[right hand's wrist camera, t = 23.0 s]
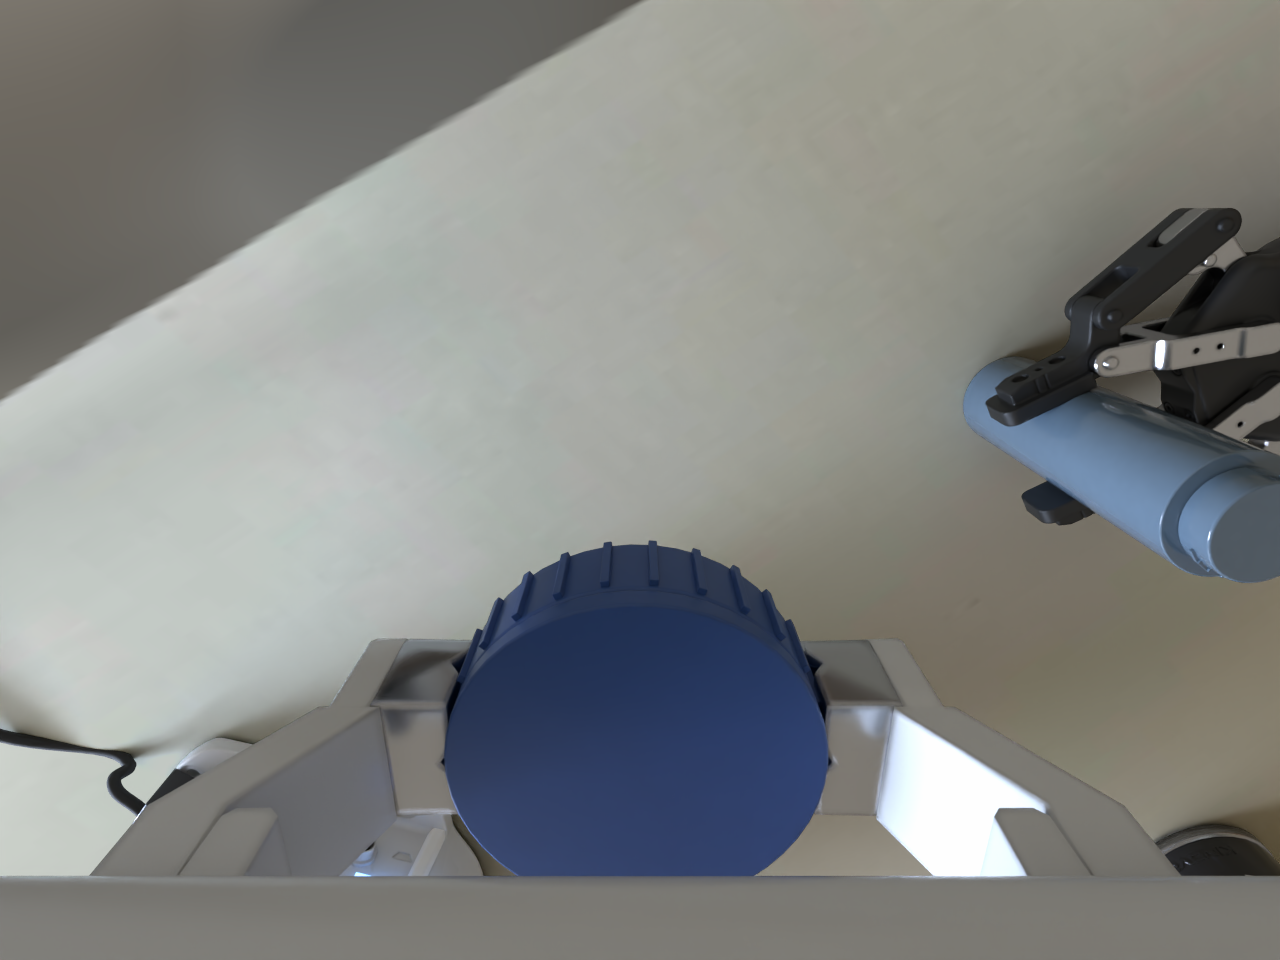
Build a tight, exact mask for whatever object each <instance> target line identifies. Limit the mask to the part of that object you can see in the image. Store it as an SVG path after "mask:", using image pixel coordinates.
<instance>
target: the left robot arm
mask: <svg viewBox="0 0 1280 960" xmlns="http://www.w3.org/2000/svg"><path fill="white" fill-rule="evenodd" d="M1241 223H1242V218H1241V215H1240V213H1239V212H1238V211H1237V210H1236V209H1233V208H1181V209H1178V210H1176V211H1174V212H1172V213H1171V214H1170V215H1169V216H1168V217H1166V218H1165V219H1164V220H1163V221H1162V222H1161V223H1159V224H1158V225H1157V226H1156V227H1155V228H1153V229H1152V230H1151V231H1150V232H1149V233H1147V234H1146V235H1145V236H1144V237H1143V238H1142V239H1140V240H1139V241H1138V242H1137V243H1136V244H1134V245H1133V246H1132V247H1131V248H1130V249H1128V250H1127V251H1126V252H1125V253H1124V254H1123V255H1121V256H1120V257H1119V258H1118V259H1117V260H1115V261H1114V262H1113V263H1112V264H1111V265H1109V266H1108V267H1107V268H1106V269H1105V270H1104V271H1102V272H1101V273H1100V274H1099V275H1098V276H1096V277H1095V278H1094V279H1093V280H1092V281H1090V282H1089V283H1088V284H1087V285H1086V286H1084V287H1083V288H1082V289H1081V290H1080V291H1079V292H1077V293H1076V294H1075V295H1074V296H1073V297H1071V298H1070V299H1069V301H1068V302H1067V304H1066V306H1065V315H1066V317H1067V318H1068V320H1070V321H1071V328H1070V337H1069V340H1068V342H1067V344H1066V345H1065V347H1064V348H1063V349H1062V350H1060V351H1059V352H1057V353H1055V354H1053V355H1051V356H1049V357H1047V358H1045V359H1043V360H1041V361H1039V362H1037V363H1035V364H1033V365H1031V366H1029V367H1028V368H1025V369H1023V370H1021V371H1019V372H1018V373H1015V374H1013V375H1011V376H1009V377H1007V378H1005V379H1004V380H1003V381H1002V382H1001V383H1000V384H999V385H998V386H997V387H996V388H995V390H996V392H997V395H995V396H993V397H991V398H989V399H988V400H987V401H986V403H985V404H986V406H987V409H988V411H989V414H990V416H991V418H993V419H994V420H996V421H998V422H999V423H1001V424H1003V425H1004V426H1007V427H1012V426H1017V425H1020V424H1022V423H1024V422H1026V421H1029V420H1031V419H1033V418H1035V417H1037V416H1039V415H1041V414H1043V413H1045V412H1047V411H1049V410H1051V409H1053V408H1055V407H1058V406H1060V405H1062V404H1064V403H1066V402H1068V401H1070V400H1072V399H1073V398H1075V397H1078V396H1080V395H1082V394H1084V393H1087V392H1089V391H1091V390H1093V389H1095V388H1097V384H1096V381H1095V379H1096V378H1098V377H1100V376H1102V377H1106V378H1108V377H1114V376H1120V375H1125V374H1131V373H1136V372H1141V371H1147V370H1153V371H1154V372H1155V374H1156V375H1157V377H1158V378H1159V379H1160V381H1161V401H1162V404H1161V405H1160V406H1159V407H1158V409H1160V410H1163V411H1166V412H1168V413H1171V414H1173V415H1176V416H1179V417H1181V418H1184V419H1186V420H1189V421H1192V422H1194V423H1197V424H1199V425H1202V426H1205V427H1207V428H1210V429H1212V430H1215V431H1218V432H1220V433H1223V434H1225V435H1228V436H1231V437H1233V438H1236V439H1238V440H1241V439H1242V438H1246V439H1249V441H1248V443H1249V444H1251V445H1254V446H1257V447H1259V448H1262V449H1264V450H1267V451H1269V452H1272V453H1275V454H1277V455H1279V456H1280V238H1278V239H1276V240H1274V241H1272V242H1270V243H1268V244H1266V245H1264V246H1263V247H1261V248H1260V249H1259V250H1258V251H1255V252H1247V253H1245V252H1244V251H1243V249H1242V248H1241V246H1240V245H1239V243H1238V242H1237V240H1236V239H1235V237H1234V236H1235V235H1236V233H1237V232H1238V231H1239V229H1240V227H1241ZM1202 272H1203V273H1202ZM1199 273H1202V274H1201V276H1200V277H1199V278H1198V280H1197V281H1196V283H1195V284H1194V285H1193V287H1192V288H1191V289H1190V291H1189V292H1188V294H1187V295H1186V296H1185V298H1184V299H1183V301H1182V302H1181V303H1180V305H1179V306H1178V307H1177V309H1176V310H1175V312H1174V313H1173V314H1172V316H1171V317H1168V318H1162V319H1157V320H1152V321H1147V322H1142V323H1136V324H1131V325H1126V326H1124V325H1125V324H1127V323H1128V322H1129V321H1130V320H1131V319H1133V318H1134V317H1135V316H1136V315H1138V314H1139V313H1140V312H1141V311H1143V310H1144V309H1145V308H1146V307H1147V306H1149V305H1150V304H1151V303H1152V302H1154V301H1155V300H1156V299H1157V298H1159V297H1160V296H1161V295H1162V294H1163V293H1165V292H1166V291H1167V290H1168V289H1170V288H1171V287H1172V286H1173V285H1175V284H1176V283H1177V282H1178V281H1179V280H1181V279H1182V278H1183V277H1184V276H1186V275H1187V274H1188V275H1196V274H1199ZM1022 499H1023V502H1024V504H1025V507H1026V509H1027V511H1028V512H1030V513H1031V514H1032V515H1033V516H1035V517H1036V518H1037V519H1039V520H1040V521H1041V522H1043V523H1056V524H1058V525H1068V524H1072V523H1075V522H1077V521H1079V520H1081V519H1083V518H1086V517H1088V516H1090V515H1092V514H1095V512H1093V511H1092V510H1090V509H1089V508H1087V507H1086V506H1084V505H1083V504H1081V503H1080V502H1078V501H1077V500H1075V499H1074V498H1072V497H1071V496H1069V495H1068V494H1066V493H1065V492H1063V491H1062V490H1060V489H1059V488H1057V487H1056V486H1054V485H1053V484H1051V483H1050V482H1048V481H1047V482H1044V483H1042V484H1040V485H1038V486H1036V487H1034V488H1032V489H1030V490H1027V491H1026V492H1024V493H1023V494H1022ZM1156 845H1157V847H1158V848H1159V849H1160V850H1161V851H1162V853H1163V854H1164V855H1165V856H1166V858H1167V859H1168V860H1169V861H1170V863H1171V864H1172V865H1173V866H1174V867H1175V869H1176V870H1177V871H1178V872H1179V874H1180V875H1181V876H1280V864H1279V863H1278V862H1277V861H1276V860H1275V859H1274V857H1273V856H1272V854H1271V853H1270V852H1269V850H1268V849H1267V848H1266V847H1265V846H1264V845H1263V844H1262V843H1261V842H1260V841H1259V840H1258V839H1257V838H1256V837H1254V836H1253V835H1252V834H1250V833H1248V832H1246V831H1244V830H1242V829H1239V828H1235V827H1231V826H1223V825H1207V826H1199V827H1194V828H1190V829H1186V830H1183V831H1180V832H1177V833H1175V834H1172V835H1170V836H1168V837H1166V838H1164V839H1162V840H1160V841H1159V842H1157V843H1156Z"/></svg>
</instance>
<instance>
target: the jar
mask: <svg viewBox="0 0 1280 960" xmlns="http://www.w3.org/2000/svg"><path fill="white" fill-rule="evenodd" d="M1035 363H1037V362H1036V361H1033V360H1030V359H1028V358H1024V357H1006V358H1002V359H999V360H996V361H994V362H992V363H990V364H989V365H987V366H986V367H984V368H983V369H982V370H980V371H979V372H978V373H977V374H976V376H975V377H974V378H973V379H972V381H971V382H970V384H969V386H968V388H967V390H966V393H965V397H964V403H963V411H964V416H965V419H966V421H967V423H968V425H969V426H970V428H971V429H972V430H973V431H974V432H975V433H976V434H978V435H979V436H981V437H982V438H984V439H985V440H987V441H988V442H990V443H991V444H993V445H994V446H996V447H997V448H999V449H1000V450H1002V451H1003V452H1005V453H1006V454H1008V455H1009V456H1011V457H1012V458H1014V459H1015V460H1017V461H1018V462H1020V463H1021V464H1023V465H1024V466H1026V467H1027V468H1029V469H1030V470H1032V471H1033V472H1035V473H1036V474H1038V475H1039V476H1041V477H1042V478H1044V479H1045V480H1047V481H1048V482H1050V483H1051V484H1053V485H1054V486H1056V487H1057V488H1059V489H1060V490H1062V491H1063V492H1065V493H1066V494H1068V495H1069V496H1071V497H1072V498H1074V499H1075V500H1077V501H1078V502H1080V503H1081V504H1083V505H1084V506H1086V507H1087V508H1089V509H1090V510H1092V511H1093V512H1095V513H1096V514H1098V515H1099V516H1101V517H1102V518H1104V519H1105V520H1107V521H1108V522H1110V523H1111V524H1113V525H1114V526H1116V527H1117V528H1119V529H1120V530H1122V531H1123V532H1125V533H1126V534H1128V535H1129V536H1131V537H1132V538H1134V539H1135V540H1137V541H1138V542H1140V543H1141V544H1143V545H1144V546H1146V547H1147V548H1149V549H1150V550H1152V551H1153V552H1155V553H1156V554H1158V555H1159V556H1161V557H1162V558H1164V559H1165V560H1167V561H1168V562H1170V563H1171V564H1173V565H1174V566H1176V567H1177V568H1179V569H1181V570H1183V571H1185V572H1187V573H1190V574H1193V575H1198V576H1207V577H1215V576H1220V577H1222V578H1226V579H1229V580H1232V581H1236V582H1242V583H1256V582H1262V581H1267V580H1270V579H1273V578H1276V577H1278V576H1280V456H1279V455H1277V454H1275V453H1272V452H1269V451H1267V450H1264V449H1262V448H1259V447H1257V446H1254V445H1251V444H1249V443H1246V442H1244V441H1241V440H1238V439H1236V438H1233V437H1231V436H1228V435H1225V434H1223V433H1220V432H1218V431H1215V430H1212V429H1210V428H1207V427H1205V426H1202V425H1199V424H1197V423H1194V422H1192V421H1189V420H1186V419H1184V418H1181V417H1179V416H1176V415H1173V414H1171V413H1168V412H1166V411H1163V410H1160V409H1158V408H1155V407H1153V406H1150V405H1147V404H1145V403H1142V402H1140V401H1137V400H1134V399H1132V398H1129V397H1127V396H1124V395H1121V394H1119V393H1116V392H1114V391H1111V390H1108V389H1106V388H1103V387H1101V386H1098V385H1097V388H1095V389H1093V390H1091V391H1089V392H1087V393H1084V394H1082V395H1080V396H1078V397H1075V398H1073V399H1072V400H1070V401H1068V402H1066V403H1064V404H1062V405H1060V406H1058V407H1055V408H1053V409H1051V410H1049V411H1047V412H1045V413H1043V414H1041V415H1039V416H1037V417H1035V418H1033V419H1031V420H1029V421H1026V422H1024V423H1022V424H1020V425H1017V426H1012V427H1007V426H1004V425H1003V424H1001V423H999V422H998V421H996V420H994V419H993V418H991V416H990V414H989V411H988V409H987V406H986V404H985V403H986V401H987V400H988V399H989V398H991V397H993V396H995V395H997V392H996V390H995V388H996V387H997V386H998V385H999V384H1000V383H1001V382H1002V381H1003V380H1004V379H1005V378H1007V377H1009V376H1011V375H1013V374H1015V373H1018V372H1019V371H1021V370H1023V369H1025V368H1028V367H1029V366H1031V365H1033V364H1035Z"/></svg>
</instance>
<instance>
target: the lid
mask: <svg viewBox="0 0 1280 960" xmlns="http://www.w3.org/2000/svg"><path fill="white" fill-rule="evenodd" d="M457 681H458V682H460V691H459V693H458V697H457V699H456V702H455V704H454V707H453V710H452V712H451V715H450V719H449V723H448V727H447V731H446V735H445V747H444V763H445V774H446V779H447V783H448V787H449V791H450V795H451V797H452V800H453V802H454V805H455V807H456V809H457V812H458V814H459V816H460V817H461V819H462V820H463V822H464V824H465V825H466V827H467V829H468V830H469V832H470V833H471V834H472V835H473V837H474V838H475V839H476V840H477V841H478V843H479V844H480V845H481V846H482V847H483V848H484V849H485V850H486V851H487V852H488V853H489V854H490V855H491V856H492V857H493V858H494V859H495V860H497V861H498V862H499V863H500V864H502V865H503V866H504V867H506V868H507V869H509V870H510V871H511V872H513V873H514V874H516V875H517V876H754V875H756V874H757V873H759V872H760V871H762V870H764V869H765V868H767V867H768V866H769V865H770V864H772V863H773V862H774V861H775V860H776V859H778V858H779V857H780V856H781V855H782V854H784V852H785V851H786V850H787V849H788V848H789V847H790V846H791V845H792V844H793V843H794V842H795V841H796V840H797V838H798V837H799V836H800V834H801V833H802V831H803V830H804V829H805V827H806V826H807V824H808V823H809V821H810V820H811V818H812V816H813V814H814V812H815V810H816V808H817V806H818V804H819V801H820V798H821V795H822V792H823V789H824V786H825V781H826V775H827V769H828V740H827V734H826V728H825V723H824V720H823V717H822V714H821V711H820V709H819V704H820V701H819V698H818V696H817V693H816V690H815V688H814V676H813V673H812V671H811V668H810V666H809V664H808V661H807V658H806V656H805V653H804V651H803V648H802V645H801V643H800V640H799V637H798V635H797V632H796V629H795V627H794V624H793V622H792V621H791V619H789V620H787V621H785V620H784V618H783V617H782V615H781V614H780V613H779V611H778V610H777V609H776V607H775V604H774V601H773V598H772V595H771V593H770V592H769V591H768V590H767V589H766V590H764V591H763V592H761V591H760V590H759V589H758V588H757V587H756V586H754V585H753V584H752V583H750V582H749V581H748V580H746V579H745V578H744V577H742V576H741V573H740V569H739V568H738V567H736V566H735V565H733V566H732V567H731V568H730V569H729V568H727V567H726V566H724V565H722V564H720V563H718V562H715V561H713V560H711V559H708V558H706V557H703V556H701V552H700V550H698V549H695V548H693V549H692V552H687V551H684V550H680V549H676V548H669V547H662V546H657V541H649V543H648V545H620V546H612V542H605V543H604V546H603V548H599V549H594V550H589V551H585V552H582V553H579V554H576V555H573V556H570V555H569V553H568V552H567V553H564V554H561V558H560V561H558V562H556V563H554V564H552V565H550V566H547V567H545V568H543V569H542V570H540V571H539V572H537V573H536V574H534V575H533V574H532V573H531V572H530V571H529V572H527V573H526V574H524V576H523V580H522V583H521V584H520V585H519V586H518V587H517V588H516V589H514V590H513V591H512V592H511V593H510V594H509V595H508V596H507V597H506V598H505V599H504V600H502V599H501V598H498V599H497V600H496V601H495V602H494V605H493V608H492V610H491V613H490V616H489V619H488V621H487V624H486V625H485V627H484V629H483V630H480V629H477V630H476V632H475V634H474V637H473V639H472V642H471V645H470V647H469V650H468V652H467V655H466V658H465V660H464V663H463V665H462V668H461V671H460V673H459V676H458V678H457Z"/></svg>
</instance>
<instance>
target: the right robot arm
mask: <svg viewBox="0 0 1280 960" xmlns="http://www.w3.org/2000/svg"><path fill="white" fill-rule="evenodd" d="M471 642H472V640H441V639H409V640H408V639H375V640H373V641H371V642H370V643H369V644H368V646H367V647H366V649H365V651H364V652H363V654H362V655H361V657H360V659H359V660H358V662H357V663H356V665H355V666H354V668H353V670H352V671H351V673H350V674H349V676H348V677H347V679H346V681H345V682H344V684H343V685H342V687H341V688H340V690H339V692H338V693H337V695H336V696H335V698H334V699H333V701H332V703H331V704H330V706H329V707H317V708H316V709H314V710H312V711H311V712H309V713H307V714H305V715H304V716H302V717H300V718H298V719H297V720H295V721H293V722H291V723H290V724H288V725H286V726H284V727H283V728H281V729H279V730H277V731H276V732H274V733H272V734H271V735H269V736H267V737H265V738H264V739H262V740H260V741H258V742H257V743H255V744H249V743H245V742H240V741H236V740H232V739H226V738H214V739H212V740H210V741H207V742H205V743H203V744H202V745H200V746H198V747H197V748H195V749H194V750H193V751H191V752H190V753H189V754H188V755H187V756H186V757H185V758H184V759H183V760H181V762H180V763H179V764H178V765H177V767H176V768H175V769H174V770H173V772H172V773H171V774H170V775H169V777H168V778H167V779H166V780H165V781H164V783H163V784H162V785H161V786H160V787H159V789H158V790H157V791H156V792H155V793H154V795H153V796H152V797H151V798H150V799H149V801H148V802H147V803H146V804H145V803H143V802H142V801H141V800H140V799H138V798H137V797H135V796H134V795H132V794H131V793H129V792H128V791H127V790H126V789H125V788H124V787H123V785H122V783H121V779H123V778H124V777H126V776H128V775H130V774H131V773H132V772H133V771H134V770H135V767H136V762H135V760H134V759H133V758H132V756H131V755H130V754H128V753H125V752H121V751H114V750H99V749H92V748H86V747H81V746H76V745H72V744H68V743H64V742H59V741H54V740H50V739H46V738H41V737H35V736H30V735H25V734H20V733H15V732H11V731H6V730H3V729H0V742H1V743H6V744H10V745H15V746H21V747H28V748H35V749H45V750H55V751H66V752H77V753H86V754H94V755H99V756H104V757H108V758H111V759H114V760H115V761H117V762H118V763H120V764H121V766H122V767H120V768H118V769H116V770H115V771H113V772H112V773H111V774H110V775H109V777H108V780H107V789H108V792H109V793H110V795H111V796H112V797H113V798H114V799H115V800H116V801H117V802H118V803H120V804H121V805H122V806H124V807H125V808H127V809H128V810H130V811H131V812H132V813H133V814H135V815H136V816H137V817H136V819H135V820H134V822H133V823H132V825H131V826H130V827H129V829H128V830H127V831H126V832H125V833H124V835H123V836H122V837H121V838H120V839H119V841H118V842H117V843H116V844H115V845H114V847H113V848H112V849H111V850H110V851H109V853H108V854H107V855H106V856H105V857H104V859H103V860H102V861H101V862H100V863H99V865H98V866H97V867H96V868H95V869H94V871H93V872H92V873H91V874H90V875H89V876H0V960H1280V876H1181V875H1180V874H1179V872H1178V871H1177V870H1176V869H1175V867H1174V866H1173V865H1172V864H1171V863H1170V861H1169V860H1168V859H1167V858H1166V856H1165V855H1164V854H1163V853H1162V851H1161V850H1160V849H1159V848H1158V847H1157V845H1156V844H1155V843H1154V842H1153V840H1152V839H1151V838H1150V837H1149V836H1148V834H1147V833H1146V832H1145V831H1144V829H1143V828H1142V827H1141V826H1140V824H1139V823H1138V822H1137V821H1136V820H1135V818H1134V817H1133V816H1132V815H1131V813H1130V812H1129V811H1128V810H1127V808H1126V807H1125V806H1124V805H1122V804H1120V803H1119V802H1117V801H1115V800H1113V799H1112V798H1110V797H1108V796H1107V795H1105V794H1103V793H1101V792H1100V791H1098V790H1096V789H1095V788H1093V787H1091V786H1089V785H1088V784H1086V783H1084V782H1083V781H1081V780H1079V779H1077V778H1076V777H1074V776H1072V775H1071V774H1069V773H1067V772H1065V771H1064V770H1062V769H1060V768H1059V767H1057V766H1055V765H1053V764H1052V763H1050V762H1048V761H1047V760H1045V759H1043V758H1041V757H1040V756H1038V755H1036V754H1035V753H1033V752H1031V751H1029V750H1028V749H1026V748H1024V747H1022V746H1021V745H1019V744H1017V743H1016V742H1014V741H1012V740H1010V739H1009V738H1007V737H1005V736H1004V735H1002V734H1000V733H998V732H997V731H995V730H993V729H992V728H990V727H988V726H986V725H985V724H983V723H981V722H980V721H978V720H976V719H974V718H973V717H971V716H969V715H968V714H966V713H964V712H962V711H961V710H959V709H957V708H956V707H944V706H943V704H942V703H941V701H940V699H939V698H938V696H937V695H936V693H935V691H934V690H933V688H932V687H931V685H930V683H929V682H928V680H927V679H926V677H925V675H924V674H923V672H922V671H921V669H920V667H919V666H918V664H917V663H916V661H915V660H914V658H913V656H912V655H911V653H910V652H909V650H908V648H907V647H906V645H905V644H904V642H903V641H902V640H900V639H898V638H889V639H865V640H833V641H800V643H801V645H802V648H803V651H804V653H805V656H806V658H807V661H808V664H809V666H810V668H811V671H812V673H813V676H814V688H815V690H816V693H817V696H818V698H819V701H820V704H819V709H820V711H821V714H822V717H823V720H824V723H825V728H826V734H827V740H828V769H827V775H826V781H825V786H824V789H823V792H822V795H821V798H820V801H819V804H818V806H817V808H816V810H815V812H814V813H815V814H824V815H860V816H877V817H876V819H877V820H878V821H879V822H880V823H881V824H882V825H883V826H884V827H885V828H886V829H887V830H888V831H889V832H890V833H891V834H892V835H893V836H894V837H895V838H896V839H897V840H898V841H899V842H900V843H901V844H902V845H903V846H904V847H905V848H906V849H907V850H908V851H909V852H910V853H911V854H912V855H913V856H914V857H915V858H916V859H917V860H918V861H919V862H920V863H922V864H923V865H924V866H925V867H926V868H927V869H928V870H929V871H930V872H931V873H932V874H933V875H934V876H483V872H482V869H481V866H480V864H479V862H478V859H477V857H476V856H475V854H474V852H473V851H472V850H471V848H470V847H469V845H468V844H467V843H466V842H465V841H464V839H463V838H462V837H461V836H460V834H459V833H458V832H457V830H456V829H455V827H454V825H453V821H452V817H451V814H458V812H457V809H456V807H455V805H454V802H453V800H452V797H451V795H450V791H449V787H448V783H447V779H446V774H445V763H444V747H445V735H446V731H447V727H448V723H449V719H450V715H451V712H452V710H453V707H454V704H455V702H456V699H457V697H458V693H459V691H460V682H458V681H457V678H458V676H459V673H460V671H461V668H462V665H463V663H464V660H465V658H466V655H467V652H468V650H469V647H470V645H471Z"/></svg>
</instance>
